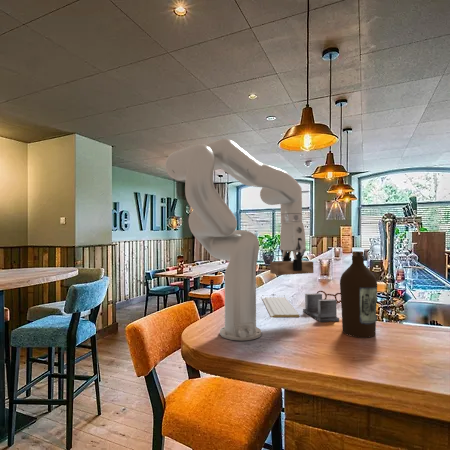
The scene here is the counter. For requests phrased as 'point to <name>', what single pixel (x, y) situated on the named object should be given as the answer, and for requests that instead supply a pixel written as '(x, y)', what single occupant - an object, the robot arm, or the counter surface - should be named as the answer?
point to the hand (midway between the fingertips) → (292, 269)
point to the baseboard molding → (280, 307)
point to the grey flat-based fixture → (320, 308)
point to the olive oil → (358, 299)
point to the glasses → (330, 295)
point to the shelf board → (290, 267)
